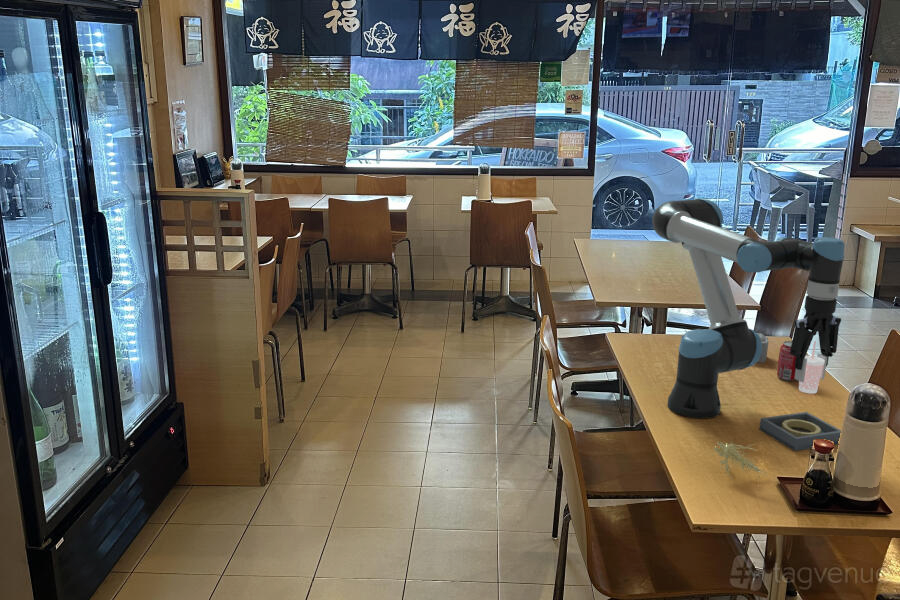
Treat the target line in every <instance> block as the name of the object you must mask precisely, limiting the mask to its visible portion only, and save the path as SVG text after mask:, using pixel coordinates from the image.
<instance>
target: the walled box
mask: <svg viewBox="0 0 900 600" xmlns="http://www.w3.org/2000/svg"><path fill="white" fill-rule="evenodd" d="M759 421H760V422H759V428H758V429H759V431H761V432H762V433H764V434H766V435H767V436H769V437H771V438H772V439H774V440H775V441H777V442H779V443H781V444H782V445H784V446H786V447H787V448H789V449H790V450H792V451H793V452H798V451H804V450H811V449H813V448H812V446H813V440H814V439H826V440H830V441H833V442H834V444H835V446H836V444H837V445H839V444H838V441H839V438H840V433H841V429H839V428H838V427H836V426H834V425H832V424H830V423H829V422H826V421H825V420H822V419H821V418H819V417H817V416H815V415H814V414H812V413H811V412H810V413H809V412H808V411H803V412H795V413H788V414H781V415H775V416H767V417H761V418H760V420H759ZM810 448H811V449H810Z"/></svg>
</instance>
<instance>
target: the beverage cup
mask: <svg viewBox="0 0 900 600" xmlns="http://www.w3.org/2000/svg"><path fill="white" fill-rule="evenodd" d="M816 345H817V341H816V340H814V341H813V345H812V352H811V355H806V356H805V358H806V359H807V364H806V371H805V378H804V382H800V381H798V390H799V391H800V392H802V393H806V394H809V395H810V394H816V393H818V388H819V384H820V380H821V379H820V376H821V372H822V367H823V365H824V363H825V361H824V359H822V358H819V357H817V356H815V349H816Z"/></svg>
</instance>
